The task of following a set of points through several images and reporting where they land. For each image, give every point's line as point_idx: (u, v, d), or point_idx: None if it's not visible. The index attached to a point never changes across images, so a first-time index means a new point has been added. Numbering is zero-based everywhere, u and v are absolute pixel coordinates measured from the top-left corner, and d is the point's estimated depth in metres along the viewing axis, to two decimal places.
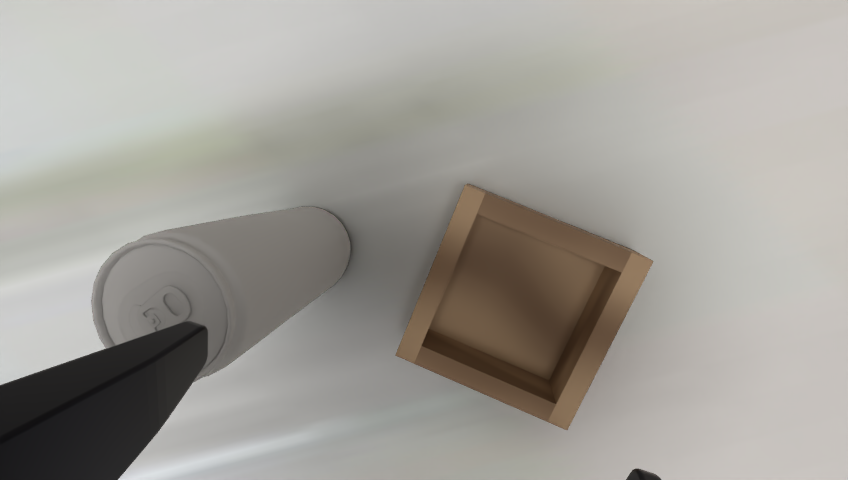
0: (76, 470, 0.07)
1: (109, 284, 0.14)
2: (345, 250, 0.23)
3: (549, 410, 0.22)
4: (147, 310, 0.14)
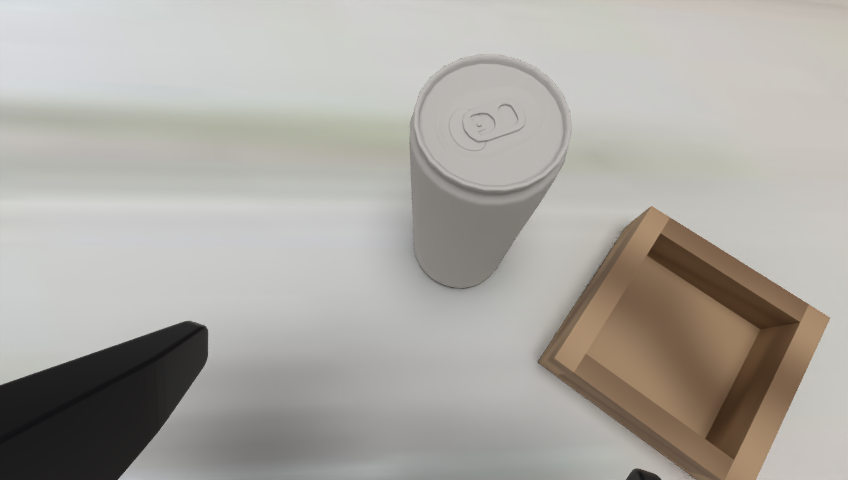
0: (76, 470, 0.07)
1: (442, 85, 0.13)
2: None
3: (726, 466, 0.18)
4: (476, 114, 0.13)
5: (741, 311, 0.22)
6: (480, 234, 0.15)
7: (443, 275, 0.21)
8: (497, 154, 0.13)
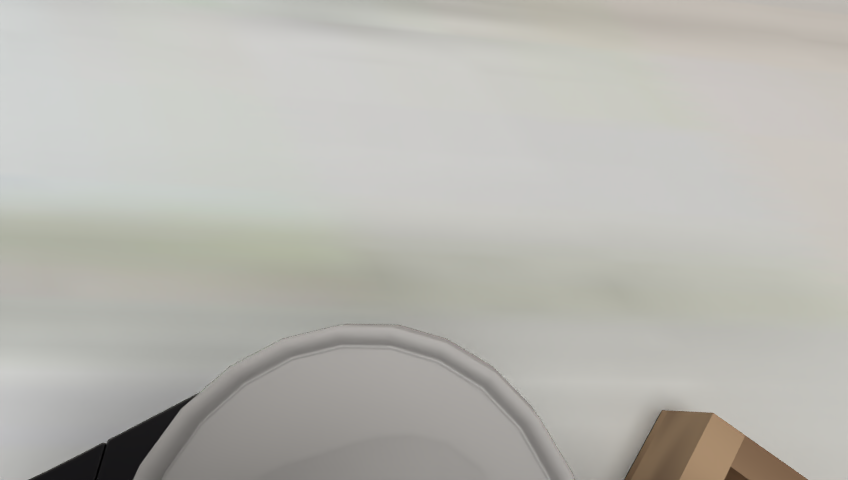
0: None
1: (219, 426, 0.05)
2: None
3: None
4: None
5: None
6: None
7: None
8: None
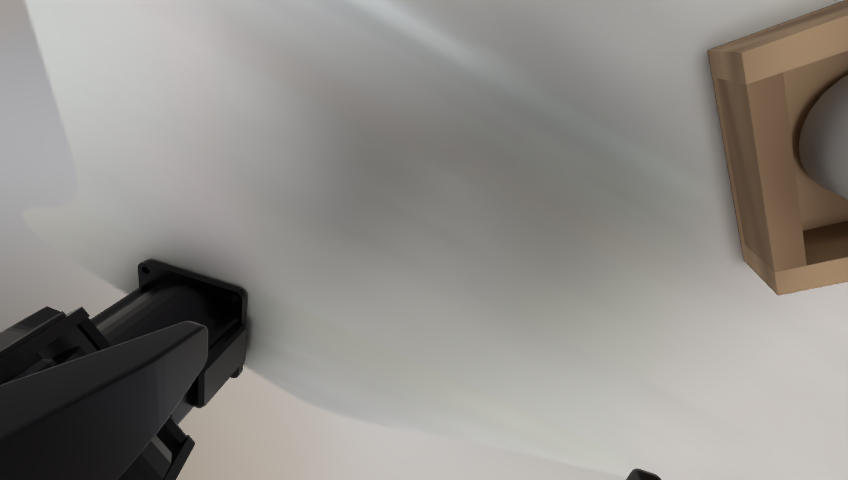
0: (76, 470, 0.07)
1: None
2: None
3: (792, 265, 0.16)
4: None
5: None
6: None
7: (828, 158, 0.15)
8: None
